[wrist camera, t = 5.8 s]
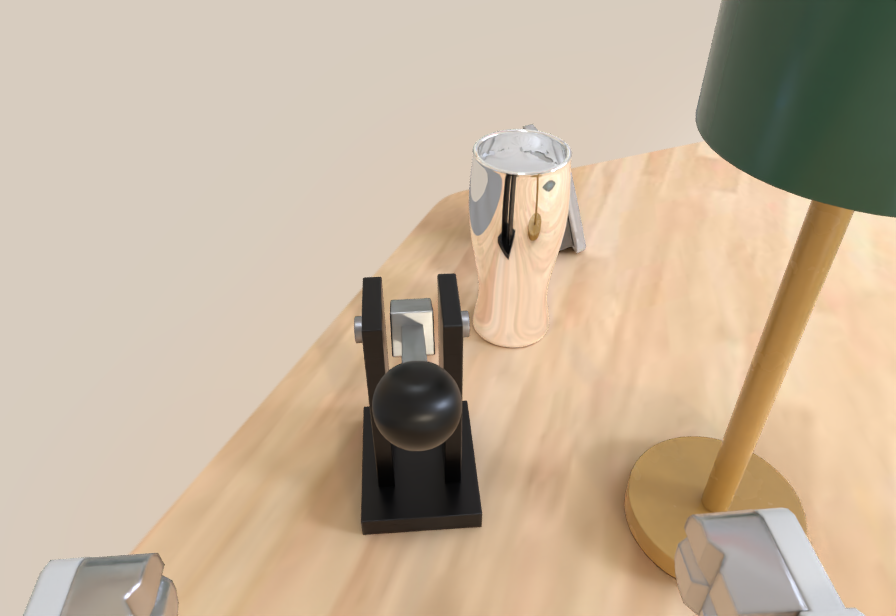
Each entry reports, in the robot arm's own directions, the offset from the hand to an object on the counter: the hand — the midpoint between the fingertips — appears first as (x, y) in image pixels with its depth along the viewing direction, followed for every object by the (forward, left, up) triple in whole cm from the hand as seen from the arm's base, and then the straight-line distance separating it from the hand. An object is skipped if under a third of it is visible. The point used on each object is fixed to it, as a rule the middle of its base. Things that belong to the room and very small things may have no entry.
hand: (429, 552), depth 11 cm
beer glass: (-21, +30, -27) cm, 45 cm away
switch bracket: (-16, +15, -26) cm, 34 cm away
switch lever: (-12, +11, -14) cm, 21 cm away
